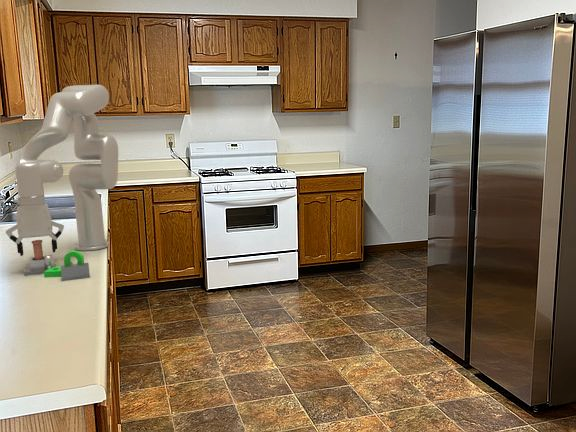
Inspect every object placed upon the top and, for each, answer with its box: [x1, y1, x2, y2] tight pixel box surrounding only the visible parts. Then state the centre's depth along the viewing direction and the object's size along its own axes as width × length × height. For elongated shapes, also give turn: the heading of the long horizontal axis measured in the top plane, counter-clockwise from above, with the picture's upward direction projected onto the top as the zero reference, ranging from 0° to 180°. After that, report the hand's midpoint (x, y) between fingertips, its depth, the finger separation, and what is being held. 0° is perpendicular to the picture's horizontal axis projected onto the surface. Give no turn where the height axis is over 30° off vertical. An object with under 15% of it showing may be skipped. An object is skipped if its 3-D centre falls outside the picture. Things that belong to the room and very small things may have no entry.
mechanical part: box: [43, 249, 85, 278], centre depth 181 cm, size 12×6×8 cm, turn 92°
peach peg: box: [31, 239, 44, 260], centre depth 186 cm, size 3×3×9 cm
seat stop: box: [60, 262, 91, 282], centre depth 176 cm, size 3×8×4 cm, turn 110°
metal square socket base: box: [23, 254, 56, 277], centre depth 186 cm, size 10×9×5 cm
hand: (38, 253), depth 186 cm, fingers open, 9 cm apart
